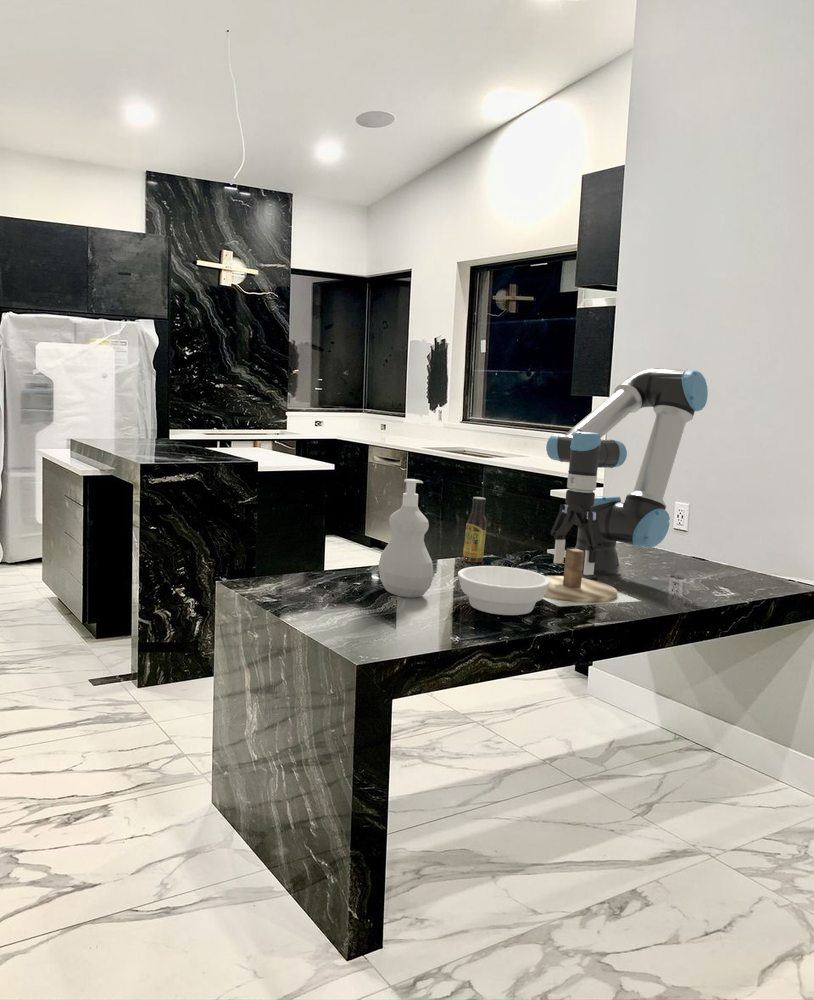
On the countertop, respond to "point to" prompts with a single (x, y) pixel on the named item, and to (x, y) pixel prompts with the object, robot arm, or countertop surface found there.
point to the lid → (578, 583)
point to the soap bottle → (407, 549)
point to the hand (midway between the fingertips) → (572, 568)
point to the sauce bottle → (475, 532)
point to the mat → (619, 599)
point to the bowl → (502, 589)
